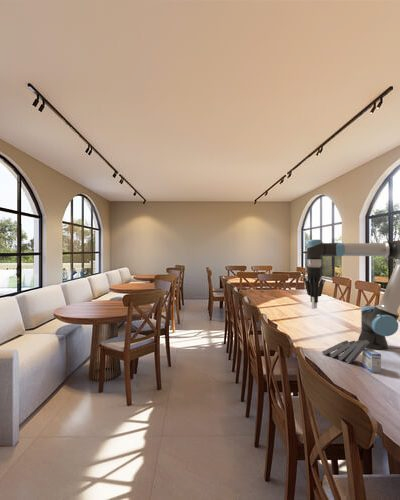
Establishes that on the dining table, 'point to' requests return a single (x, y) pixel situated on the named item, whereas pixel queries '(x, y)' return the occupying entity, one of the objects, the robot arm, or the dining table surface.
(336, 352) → the domino
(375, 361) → the medicine box
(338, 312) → the dining table surface
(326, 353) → the domino
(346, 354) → the domino
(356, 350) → the domino
